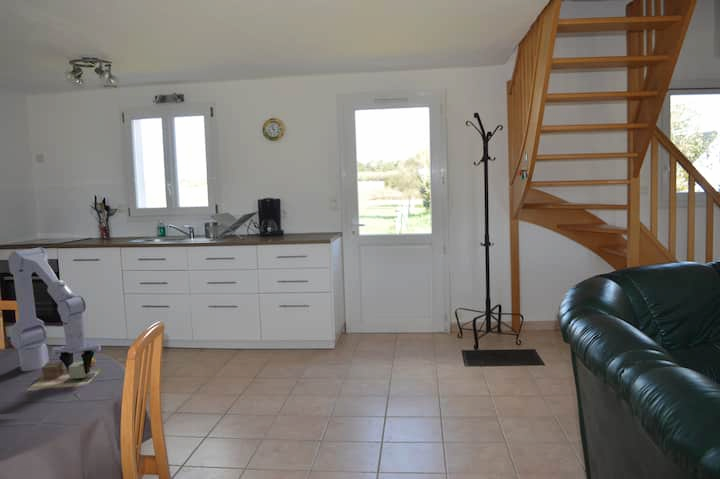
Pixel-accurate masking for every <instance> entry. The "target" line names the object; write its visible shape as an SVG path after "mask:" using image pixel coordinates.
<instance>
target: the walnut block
mask: <svg viewBox="0 0 720 479" xmlns="http://www.w3.org/2000/svg"><path fill="white" fill-rule="evenodd" d="M41 370H42V377H43V379H51V378H58V377H60V376H61V375H62V374H63V373H64V372H65V371H64V363H63V362H62V361H51V362H47V363H46V364H45V366H43V367H42V368H41Z"/></svg>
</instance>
